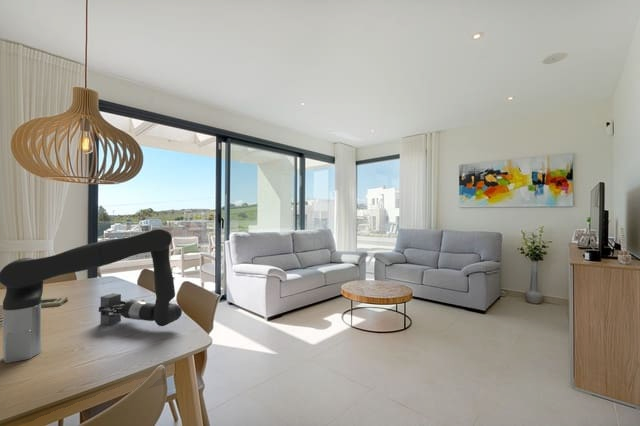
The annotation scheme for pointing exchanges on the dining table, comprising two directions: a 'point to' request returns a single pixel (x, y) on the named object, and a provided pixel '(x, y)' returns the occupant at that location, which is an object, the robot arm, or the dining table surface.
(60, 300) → the computer
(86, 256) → the robot arm
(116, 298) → the block
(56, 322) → the dining table surface
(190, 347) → the dining table surface
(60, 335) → the dining table surface
